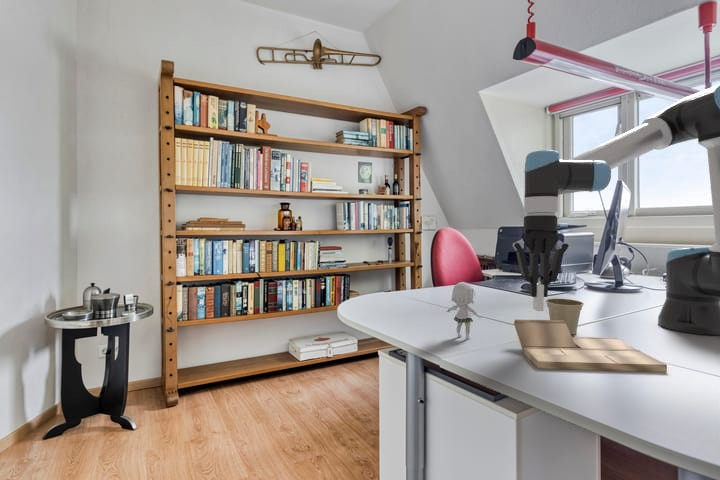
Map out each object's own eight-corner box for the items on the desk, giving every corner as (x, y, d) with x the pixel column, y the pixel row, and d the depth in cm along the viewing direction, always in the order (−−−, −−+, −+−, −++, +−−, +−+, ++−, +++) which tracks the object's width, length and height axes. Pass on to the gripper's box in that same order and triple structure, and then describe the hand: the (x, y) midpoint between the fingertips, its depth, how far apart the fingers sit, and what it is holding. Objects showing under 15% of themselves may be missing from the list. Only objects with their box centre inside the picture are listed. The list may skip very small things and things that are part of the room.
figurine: (486, 339, 98) (486, 282, 97) (475, 345, 93) (476, 285, 93) (450, 332, 105) (450, 279, 104) (439, 337, 100) (439, 281, 100)
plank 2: (581, 354, 86) (582, 348, 86) (566, 342, 94) (566, 336, 94) (636, 355, 85) (636, 349, 85) (616, 343, 93) (616, 337, 93)
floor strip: (638, 356, 85) (638, 349, 85) (666, 372, 76) (666, 364, 76) (523, 353, 87) (523, 347, 87) (538, 368, 78) (538, 360, 78)
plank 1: (522, 349, 88) (523, 345, 87) (513, 323, 95) (514, 319, 94) (574, 351, 87) (576, 347, 86) (562, 324, 93) (564, 320, 92)
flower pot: (589, 338, 99) (589, 305, 98) (550, 336, 101) (550, 304, 100) (576, 328, 108) (576, 298, 108) (541, 327, 110) (541, 297, 110)
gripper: (561, 215, 95) (559, 307, 96) (508, 215, 97) (506, 306, 97) (575, 214, 88) (572, 314, 89) (517, 214, 89) (515, 312, 90)
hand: (538, 309), depth 93 cm, fingers closed
